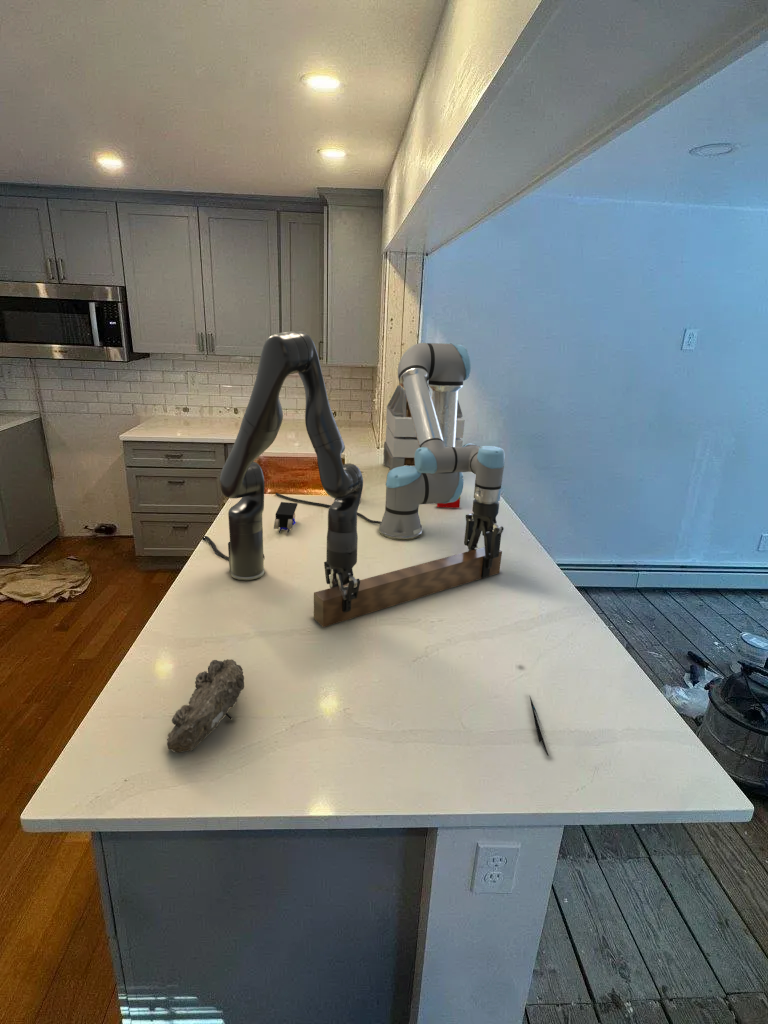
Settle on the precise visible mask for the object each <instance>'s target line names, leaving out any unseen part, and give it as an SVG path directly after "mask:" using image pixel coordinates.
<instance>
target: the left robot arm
mask: <svg viewBox="0 0 768 1024" xmlns="http://www.w3.org/2000/svg"><path fill="white" fill-rule="evenodd" d="M293 374H298V376H299V378H300V380H301V382H302V385H303V388H304V394H305V395H304V396H305V409H304V424H305V428H306V432H307V435H308V438H309V440H310V443H311V445H312V448H313V449H314V452H315V455H316V463H317V468H318V474H319V479H320V484H321V486H322V488H323V490H324V491H325V493H326V494H327V495H328V496H329V497H331V498H333V499H334V500H333V502H332V503H331V504H330V505H331V506H330V507H328V511H327V532H326V560H325V561H324V562H323V567H324V575H325V583H326V584H327V585H329V586H328V587H329V588H333V587H336V586H339V590H340V591H342V597H343V599H342V611H343V612H344V613H346V612H349V611H351V600H353V599H357V596H358V591H359V585H360V580H361V579H360V578H355V576H354V570H353V568H354V567H355V565H356V564H357V562H358V542H359V541H358V540H359V539H358V537H359V536H358V515H357V512H358V510H359V506H360V503H361V498H362V493H363V489H364V477H363V473H362V471H361V469H360V468H359V466H357V465H356V464H354V463H349V462H347V463H343V460H342V455H343V453H344V452H345V449H346V445H345V441H344V439H343V437H342V435H341V432H340V430H339V426H338V424H337V421H336V419H335V417H334V414H333V410H332V407H331V403H330V399H329V397H328V393H327V388H326V383H325V380H324V379H325V378H324V375H323V371H322V367H321V363H320V358H319V355H318V351H317V348H316V344H315V342H314V340H313V338H312V337H311V336H310V335H309V334H308V333H307V332H305V331H304V330H292V331H291V330H290V331H283V332H277V333H273V334H271V335H270V336H268V337H267V339H265V341H264V344H263V346H262V350H261V353H260V357H259V362H258V368H257V372H256V377H255V381H254V385H253V388H252V391H251V394H250V397H249V399H248V404H247V406H246V408H245V411H244V414H243V416H242V420H241V422H240V426H239V431H238V432H237V435H236V438H235V441H234V443H233V445H232V448H231V451H230V452H229V455H228V456H227V458H226V460H225V462H224V463H223V466H222V468H221V471H220V476H219V487H220V490H221V493H222V495H224V496H225V497H226V498H228V499H239V501H237V502H236V503H235V504H234V505H232V506H231V507H230V508H229V509H228V513H227V515H228V531H229V532H228V533H229V541H228V542H227V549H228V551H227V552H228V556H226V554H223V553H222V552H221V551H220V550H219V549H218V548H217V545H216V544H215V542H214V541H213V540H212V539H211V538H210V537H209V536H207V535H204V536H202V538H201V541H204V540H206V541H207V542H208V543H209V544H210V545H211V546H212V549H213V550H214V552H215V553H216V554H217V555H218V556H219V557H220V558H223V559H225V560H227V561H228V568H229V569H228V570H229V573H230V576H231V577H232V578H233V579H235V580H238V581H254V580H257V579H260V578H261V577H263V576H264V574H265V565H264V563H265V562H264V561H265V554H264V533H263V531H264V530H263V513H264V509H265V475H264V471H263V469H262V467H261V465H259V463H258V462H255V461H256V460H257V459H258V458H259V457H260V456H261V455H262V454H263V453H264V452H265V451H266V450H268V448H269V447H270V446H271V445H272V444H273V443H274V441H275V440H276V438H277V436H278V433H279V432H280V428H281V426H282V423H283V419H284V412H283V406H282V404H281V400H280V393H281V390H282V387H283V385H284V382H285V380H286V379H287V377H288V376H290V375H293ZM240 498H241V499H240ZM204 537H205V538H204ZM346 584H348V586H345V587H343V585H346ZM346 590H347V594H346Z"/></svg>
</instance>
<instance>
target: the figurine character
mask: <svg viewBox="0 0 768 1024" xmlns="http://www.w3.org/2000/svg"><path fill="white" fill-rule="evenodd" d="M297 507H298V502H287V501H285V502H284V501H281V502H280V504H279V506H278V508H277V510H276V512H275V519H274V523H273V528H274V529H275V530H278V533H279V534H281V533H282V531H286V534H289V533H290V530H292V529H293V527H294V526H295V525H296V524H297V521H296V513H295V512H296V510H297Z"/></svg>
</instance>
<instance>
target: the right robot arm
mask: <svg viewBox="0 0 768 1024" xmlns="http://www.w3.org/2000/svg"><path fill="white" fill-rule="evenodd" d="M471 371H472V361H471V356H470V353H469V351H468V348H466V346H464V345H463V344H458V343H451V342H450V343H436V342H419V343H415V344H413V345H411V346H410V347H408V348H407V350H406V351H405V352H404V353H403V354H402V356H401V358H400V359H399V362H398V366H397V379H398V383H399V385H400V386H401V387H402V388H403V389H404V390H405V393H406V397H407V401H408V405H409V409H410V413H411V417H412V421H413V425H414V428H415V432H416V436H417V440H418V444H419V448H418V449H417V450H416V452H415V456H414V460H415V466H407V465H404V466H401V467H396V468H394V469H392V470H390V469H389V470H388V472H387V475H386V480H385V481H386V482H385V504H384V505H385V507H384V508H385V509H384V513H383V515H382V519H381V521H380V520H372V519H370V518H368V517H366V516H365V515H363V514H362V513H361V512H360V513H359V512H358V511H357V517H358V516H359V517H361V518H362V519H364V520H365V521H367V522H368V523H371V524H378V525H379V526H378V533H379V534H380V535H381V536H382V537H385V538H387V539H389V540H395V541H410V540H415V539H418V538H420V537H421V536H422V535H423V525H422V524H421V518H420V515H419V507H420V505H429V504H430V505H431V504H433V505H434V504H437V503H443V504H445V503H450V502H455V501H457V500H458V498H459V497H460V498H461V496H462V493H463V490H464V486H465V485H464V483H465V482H464V481H465V480H464V474H463V473H473V474H474V475H475V480H474V490H473V500H472V508H471V510H472V513H468V514H465V530H464V531H465V532H464V540H463V545H464V546H466V547H467V549H468V551H471V550H475V549H479V548H478V547H479V546H478V543H479V540H480V538H481V535H482V536H483V542H484V543H483V544H484V547H485V557H483V564H482V573H481V578H482V579H486V578H488V577H490V576H489V574H490V568H491V567H492V561H493V559H494V558H497V557H499V551H500V550H501V540H502V534H503V532H504V527H503V526H502V525H501V526H500V525H499V524H498V523H497V516H498V515H499V511H500V510H499V509H500V500H501V492H502V485H503V484H502V483H503V478H504V469H505V463H506V460H505V457H506V452H505V450H504V449H503V448H502V447H499V446H494V445H483V446H480V445H478V444H476V443H475V444H474V443H466V444H463V445H462V447H455V436H456V419H457V401H458V402H459V391H460V390H461V389H462V388H463V387H464V382H465V381H466V380H468V379H469V378H470V374H471V373H472V372H471ZM430 389H431V392H432V393H431V392H430ZM431 397H432V398H431ZM275 496H277V497H280V498H283V499H286V500H290V501H293V502H296V503H302V504H308V505H314V506H319V507H320V506H321V507H326V508H329V507H330V506H331V505H332V504H327V503H321V502H316V501H310V500H309V501H308V500H304V499H300V498H294V497H290V496H287V495H284V494H281V493H279V492H275Z"/></svg>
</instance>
